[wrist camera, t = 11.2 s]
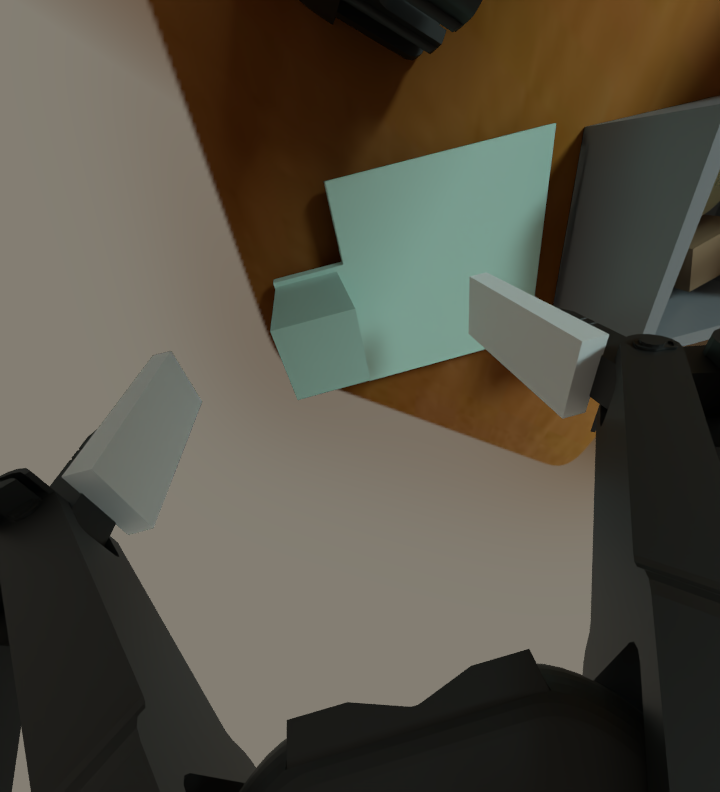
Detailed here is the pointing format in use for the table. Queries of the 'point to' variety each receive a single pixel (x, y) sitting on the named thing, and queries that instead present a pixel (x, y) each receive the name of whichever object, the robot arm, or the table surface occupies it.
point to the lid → (413, 260)
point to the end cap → (399, 20)
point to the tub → (642, 223)
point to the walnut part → (701, 255)
